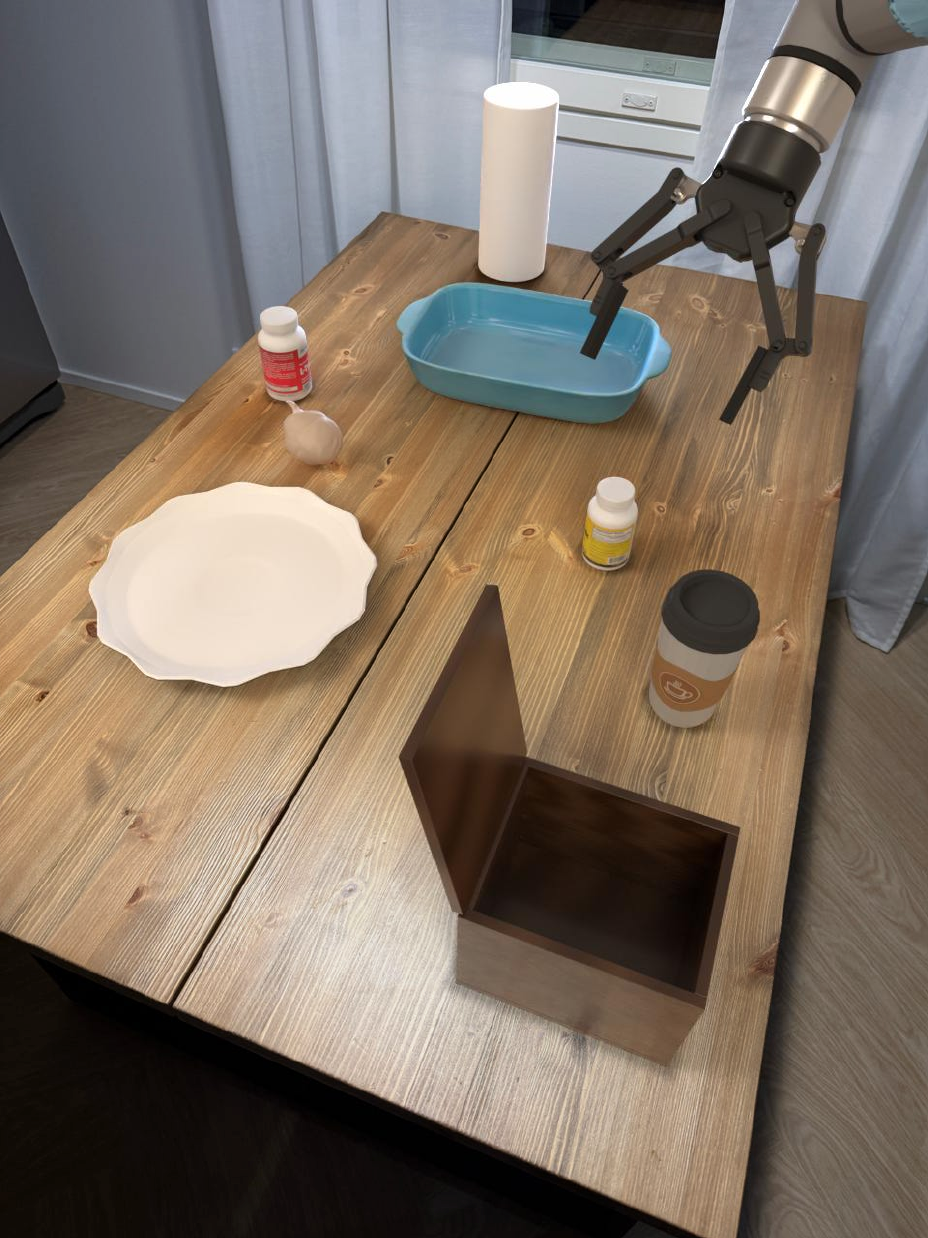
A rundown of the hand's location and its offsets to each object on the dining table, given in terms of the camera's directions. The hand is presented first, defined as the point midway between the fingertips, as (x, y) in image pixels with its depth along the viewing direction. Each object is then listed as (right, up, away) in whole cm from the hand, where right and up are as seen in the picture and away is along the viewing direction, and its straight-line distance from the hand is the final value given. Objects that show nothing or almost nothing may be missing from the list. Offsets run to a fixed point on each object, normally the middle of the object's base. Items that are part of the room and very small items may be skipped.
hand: (654, 389), depth 78 cm
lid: (-16, -29, -21) cm, 39 cm away
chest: (-7, -46, -6) cm, 47 cm away
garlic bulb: (-35, 0, +33) cm, 48 cm away
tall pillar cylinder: (-9, +37, +67) cm, 77 cm away
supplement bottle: (-1, -13, +23) cm, 26 cm away
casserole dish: (-8, +13, +46) cm, 48 cm away
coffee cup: (+5, -28, +10) cm, 30 cm away
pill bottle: (-40, +11, +43) cm, 60 cm away
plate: (-41, -17, +19) cm, 48 cm away
